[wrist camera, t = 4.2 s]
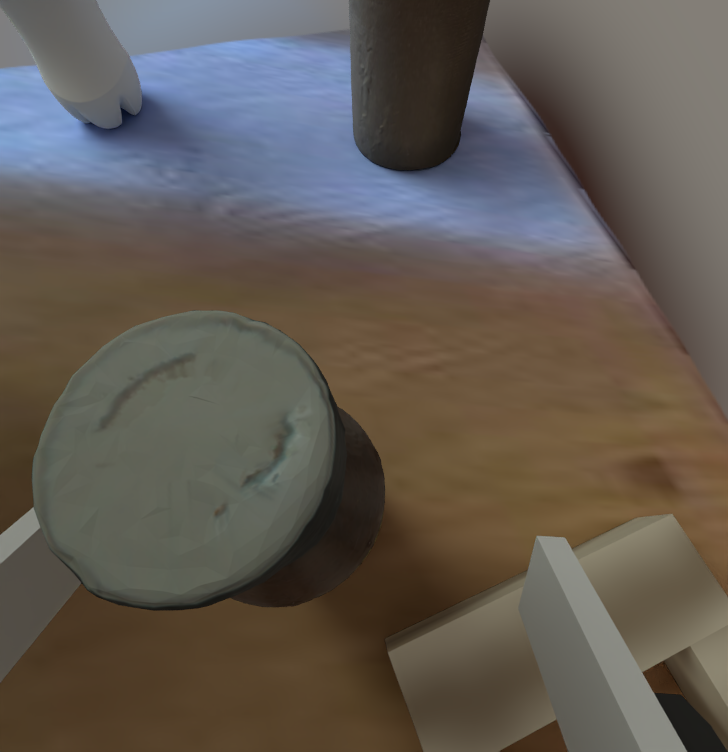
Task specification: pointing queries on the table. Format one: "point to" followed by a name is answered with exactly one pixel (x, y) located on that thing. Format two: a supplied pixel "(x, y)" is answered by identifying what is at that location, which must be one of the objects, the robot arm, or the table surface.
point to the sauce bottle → (205, 470)
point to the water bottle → (78, 58)
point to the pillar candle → (412, 77)
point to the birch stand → (517, 660)
